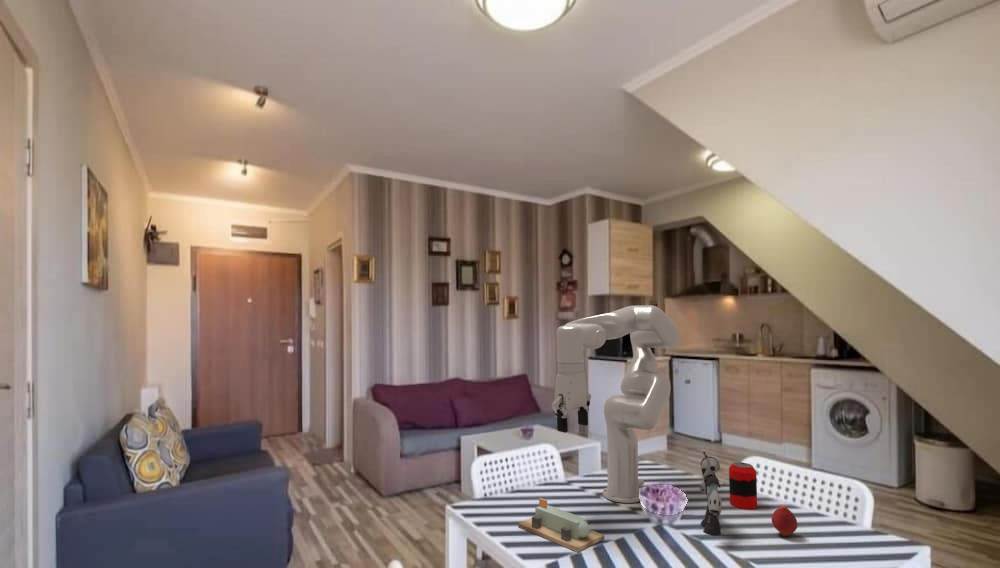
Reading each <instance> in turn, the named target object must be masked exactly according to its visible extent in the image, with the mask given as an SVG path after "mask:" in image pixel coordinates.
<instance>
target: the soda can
mask: <svg viewBox="0 0 1000 568" xmlns="http://www.w3.org/2000/svg"><path fill="white" fill-rule="evenodd" d="M728 479H729V480H728V481H729V485H728V486H729V490H728V491H729V503H730V504H731V505H732V507H735V508H738V509H743V510H755V509H757V507H758V483H757V481H758V480H757V470H756V469H755V467H754V466H753V465H752V464H751V463H747V462H739V461H737V462H736V461H735V462H733V463H732V464H731V465H730V466H729V467H728Z"/></svg>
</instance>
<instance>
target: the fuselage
mask: <svg viewBox="0 0 1000 568" xmlns="http://www.w3.org/2000/svg"><path fill="white" fill-rule="evenodd" d="M534 511H535V512H534V513H535V515H534V516H538V517H541V525H542V526H544V527H547V528H549V529H552V530H554V531H557V532H559V533H561V528H563V527H566V528H569V529H571V537H572V538H574V539H579V538H585V537H587V536H588V535H589V532H590V530H591V529H590V524H589V525H588V523H587V521H588V520H587V518H585V517H582V516H580V515H576V514H574V513H571V512H569V511H566V510H563V509H560V508H557V507H554V506H552V505H549V504H548V499H544V498H541V497H538V506H537V507H535V510H534Z"/></svg>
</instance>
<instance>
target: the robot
mask: <svg viewBox="0 0 1000 568" xmlns="http://www.w3.org/2000/svg"><path fill="white" fill-rule="evenodd" d="M703 456H704V458H703V459H702V460H701V461H700V463H699V465H700V469H701V477H702V478H703V480H702V481H701V482H700V484H699V489H698V490H699V491H700V493H701V494H704V495H706V499H707V505H706V510H705V513H704V518H703V519H702V520H701V521H700V525H701V527H703V531H702V533H704V534H707V535H709V536H720V535H721V534H722V530H721V528H722V527H721V523H720V520H719V518H718V517H720V516H721V513H722V504H723V501H722V498H721V496H720V493H718V488H721V485H720V481H719V479H718V477H717V475H716V473H717V472H719V470H721V469H720V468H721V467H720V462H719V461H718V459H716V458H715V457H713V456H708V455H707V454H706V452H705V451H703Z"/></svg>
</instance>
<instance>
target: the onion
mask: <svg viewBox="0 0 1000 568" xmlns="http://www.w3.org/2000/svg"><path fill="white" fill-rule="evenodd" d="M771 523H772V525H773V527H774V528H775V530H777V531H778V532H779V534H780V535H781V536H783V537H787V536H789V535H792V534H793V533H794V532H796V531H797V529H798V520H797V518H796V516H795V514H794V513H793V512H792V511H791V510H790V509H789V508H787V506H785V504H783V503H782V504H780V507H778V508H777V509H775V510H774V511H773V513H772V515H771Z"/></svg>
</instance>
